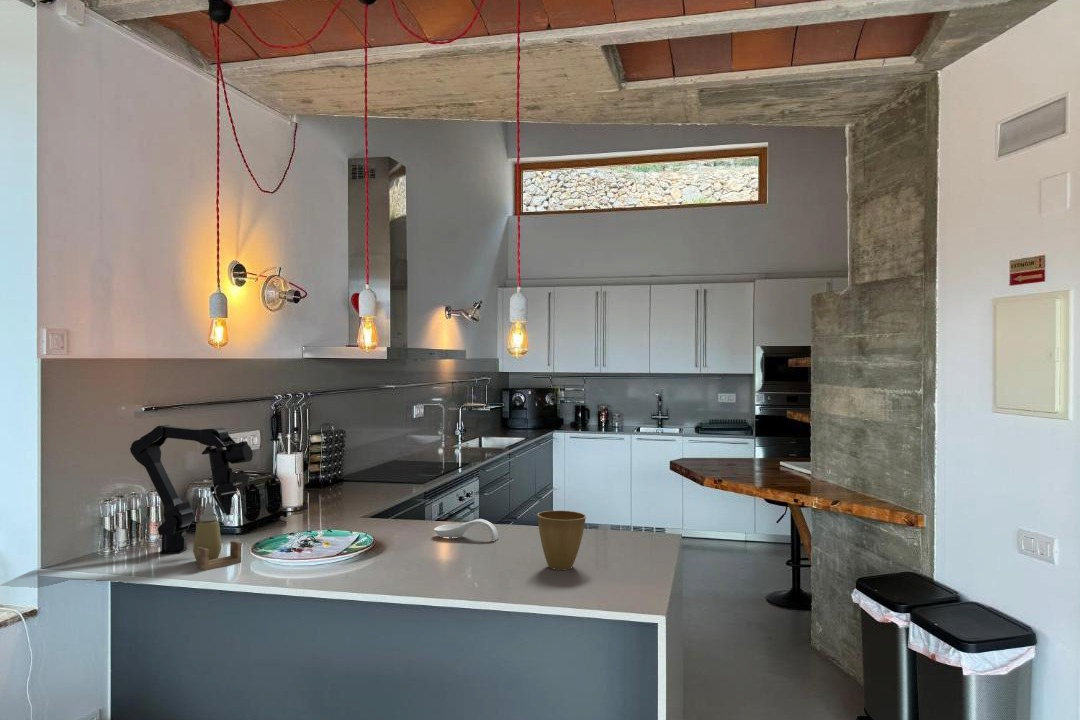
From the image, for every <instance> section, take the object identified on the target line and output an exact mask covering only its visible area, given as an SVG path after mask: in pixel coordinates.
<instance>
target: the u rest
mask: <svg viewBox="0 0 1080 720" xmlns="http://www.w3.org/2000/svg"><path fill="white" fill-rule="evenodd" d="M229 543H230V547H229V551H230V552H229V553H230V554H229V555H227V556H222V557H218V558H217V559H213V560H209V549H206V548H203V547H198V556H197V561H196V563H197V564H196V566H197V567H196V568H197V569H200V570H203V571H208V570H212V569H217V567H218V568H221V567H226V565H227V566H231V565H235V563H236V564H240V563H242V547H243V546H242V545H243V544H242V542H241V541H240V542H239V541H236V540H230V542H229ZM239 562H240V563H239Z"/></svg>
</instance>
